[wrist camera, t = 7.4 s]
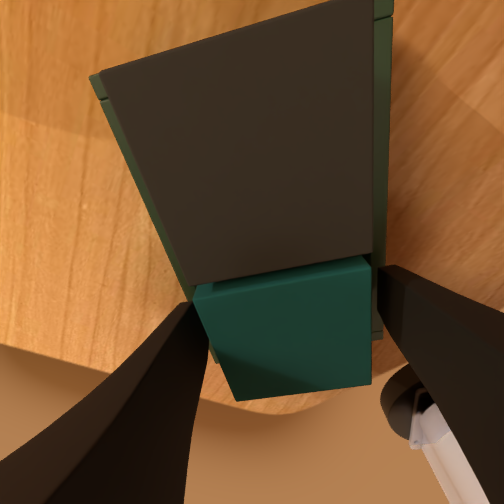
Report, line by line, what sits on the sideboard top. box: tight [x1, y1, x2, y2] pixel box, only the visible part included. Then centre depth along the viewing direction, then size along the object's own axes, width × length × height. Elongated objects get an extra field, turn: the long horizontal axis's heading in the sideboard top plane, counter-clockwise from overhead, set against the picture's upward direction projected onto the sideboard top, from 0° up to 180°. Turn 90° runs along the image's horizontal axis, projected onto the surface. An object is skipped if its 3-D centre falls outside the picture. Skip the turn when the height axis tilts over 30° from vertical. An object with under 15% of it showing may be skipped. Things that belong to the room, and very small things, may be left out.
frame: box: [89, 0, 394, 364], centre depth 10 cm, size 12×8×2 cm
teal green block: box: [192, 255, 372, 402], centre depth 10 cm, size 5×5×4 cm
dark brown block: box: [99, 0, 374, 286], centre depth 7 cm, size 5×5×4 cm
